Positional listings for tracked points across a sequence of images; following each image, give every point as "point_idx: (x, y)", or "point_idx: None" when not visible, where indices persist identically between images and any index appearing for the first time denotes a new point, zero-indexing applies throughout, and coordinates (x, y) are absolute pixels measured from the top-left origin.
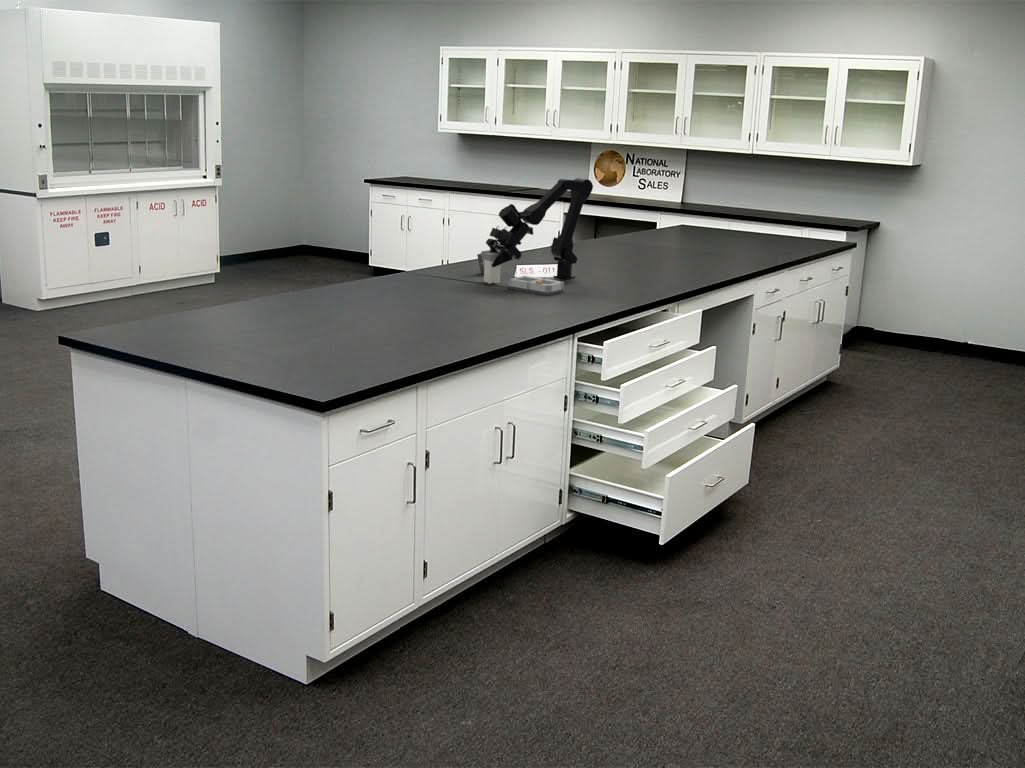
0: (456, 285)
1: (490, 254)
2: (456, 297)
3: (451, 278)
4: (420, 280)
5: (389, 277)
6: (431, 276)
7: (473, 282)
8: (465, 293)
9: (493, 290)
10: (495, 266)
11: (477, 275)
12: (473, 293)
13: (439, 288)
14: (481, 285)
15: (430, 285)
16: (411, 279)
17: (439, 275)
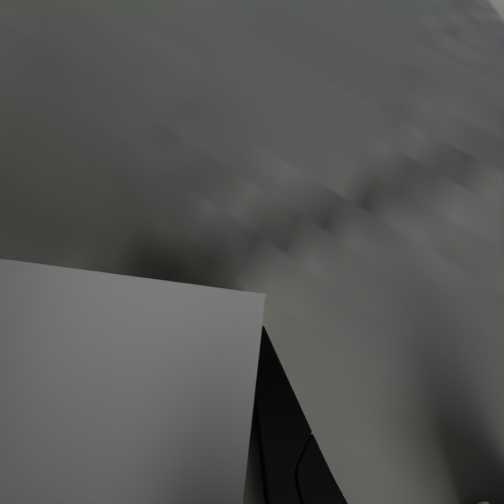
0: (230, 130)
1: (43, 290)
2: (33, 8)
3: (399, 206)
4: (392, 72)
5: (480, 19)
6: (472, 154)
7: (257, 244)
8: (65, 68)
9: (24, 206)
10: None
11: (453, 413)
12: (42, 92)
13: (210, 46)
14: (166, 232)
15: (280, 50)
16: (422, 57)
17: (492, 200)
